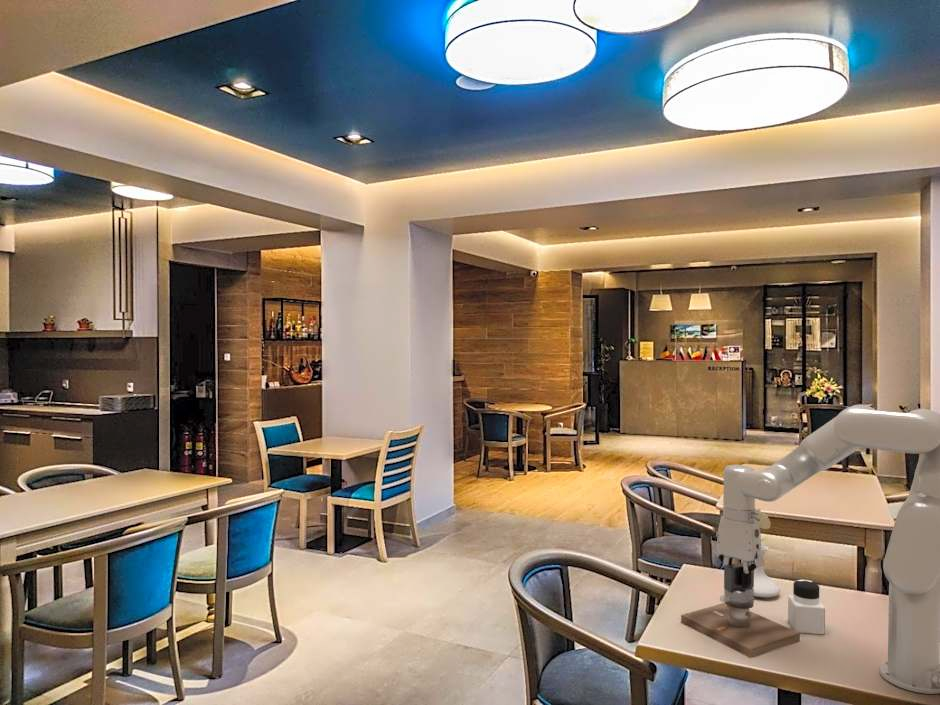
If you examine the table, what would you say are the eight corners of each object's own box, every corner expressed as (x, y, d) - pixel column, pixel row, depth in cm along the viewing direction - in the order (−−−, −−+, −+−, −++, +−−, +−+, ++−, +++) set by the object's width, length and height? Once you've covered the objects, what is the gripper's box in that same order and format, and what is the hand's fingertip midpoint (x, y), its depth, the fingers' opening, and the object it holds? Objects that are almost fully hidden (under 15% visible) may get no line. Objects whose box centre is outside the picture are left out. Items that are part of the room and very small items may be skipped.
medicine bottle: (825, 635, 169) (825, 588, 169) (795, 632, 171) (795, 586, 171) (816, 623, 176) (817, 578, 176) (787, 620, 178) (787, 576, 178)
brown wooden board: (799, 640, 166) (800, 613, 166) (750, 657, 158) (750, 628, 158) (728, 608, 186) (728, 583, 186) (681, 622, 177) (681, 596, 177)
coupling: (739, 596, 176) (740, 558, 176) (760, 606, 170) (760, 567, 170) (711, 601, 173) (711, 563, 172) (731, 612, 166) (732, 572, 166)
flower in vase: (788, 600, 191) (788, 514, 190) (749, 602, 190) (750, 515, 190) (764, 583, 204) (765, 502, 203) (728, 584, 203) (729, 503, 203)
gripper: (777, 518, 167) (776, 590, 167) (716, 504, 179) (715, 572, 180) (763, 523, 162) (762, 598, 163) (701, 509, 175) (700, 579, 175)
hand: (737, 583), depth 171 cm, fingers closed on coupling, 3 cm apart
